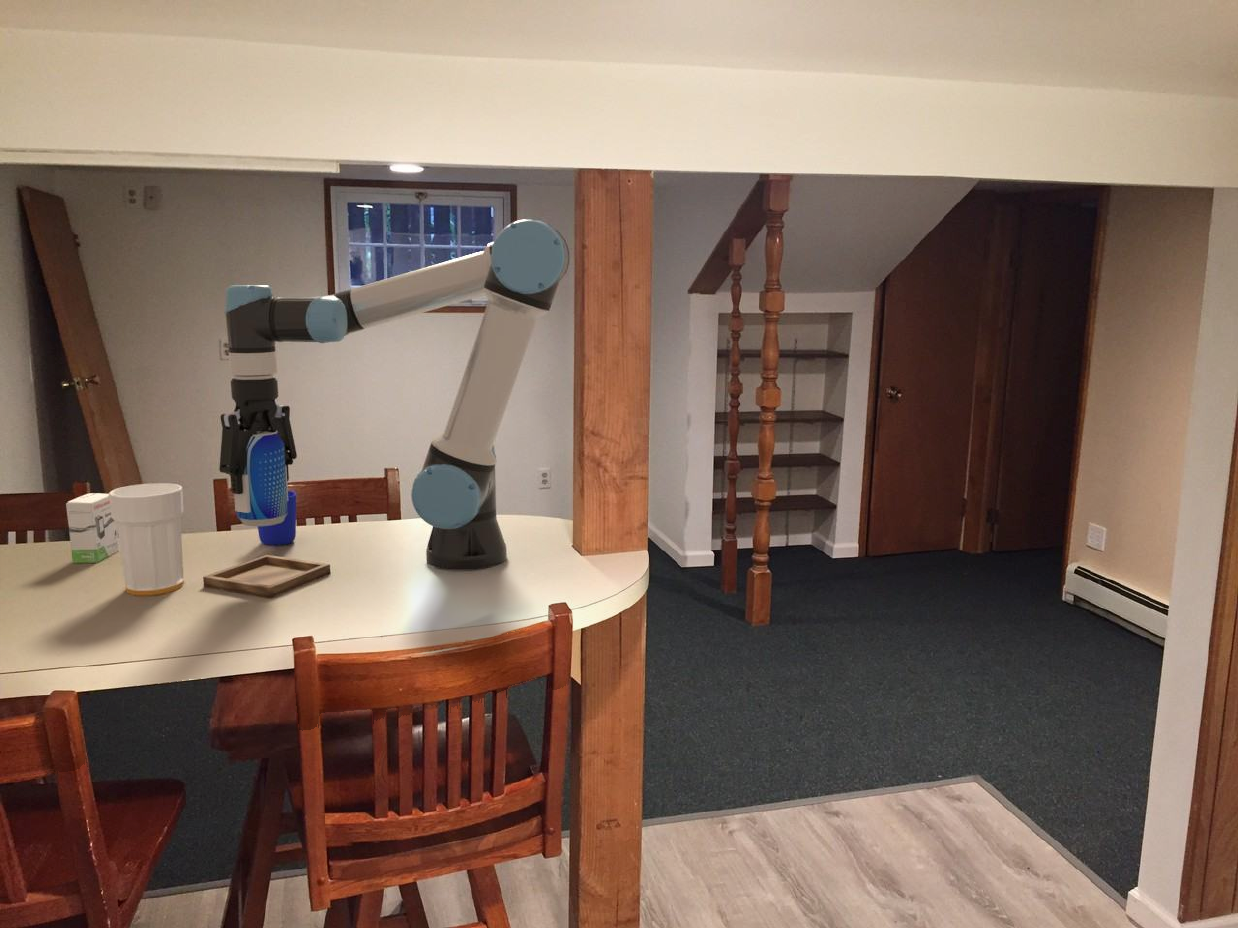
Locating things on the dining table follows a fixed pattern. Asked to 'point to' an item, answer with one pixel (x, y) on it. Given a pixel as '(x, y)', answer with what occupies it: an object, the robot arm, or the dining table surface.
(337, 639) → the dining table surface
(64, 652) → the dining table surface
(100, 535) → the ink box
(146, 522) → the cup
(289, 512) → the mug
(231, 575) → the tray
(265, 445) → the beer can
